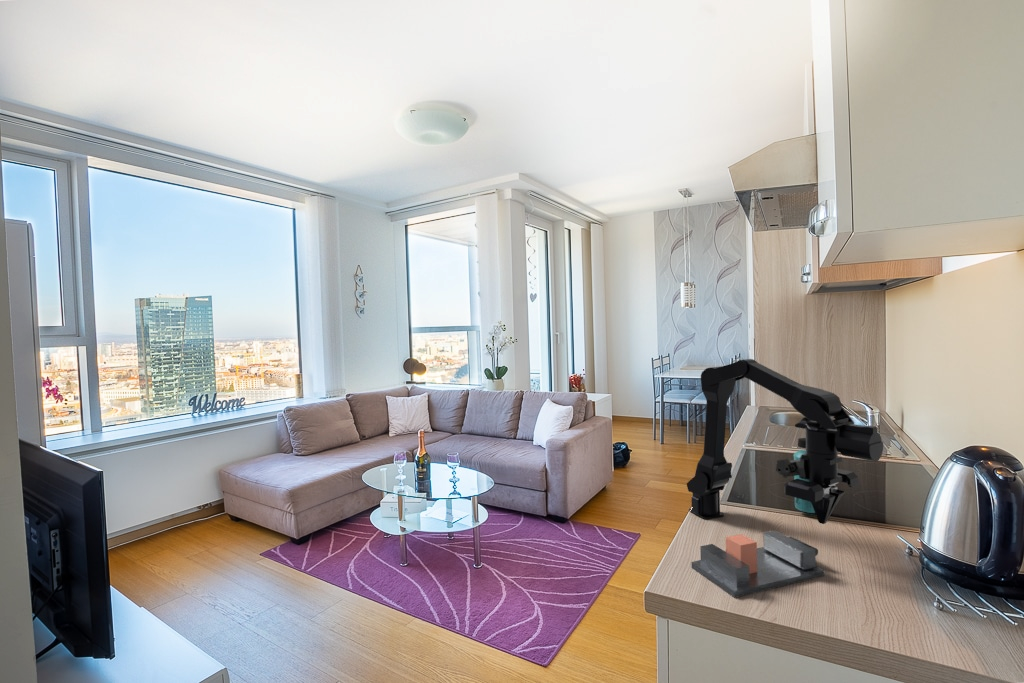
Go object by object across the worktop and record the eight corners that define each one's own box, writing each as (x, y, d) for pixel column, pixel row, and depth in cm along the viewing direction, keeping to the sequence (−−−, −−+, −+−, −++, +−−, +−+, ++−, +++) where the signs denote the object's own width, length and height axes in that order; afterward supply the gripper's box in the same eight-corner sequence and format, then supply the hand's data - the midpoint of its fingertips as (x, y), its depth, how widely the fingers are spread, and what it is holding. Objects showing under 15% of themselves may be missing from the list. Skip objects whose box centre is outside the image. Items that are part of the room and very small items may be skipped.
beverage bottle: (829, 517, 123) (828, 440, 123) (807, 520, 122) (806, 442, 122) (808, 508, 130) (807, 435, 129) (787, 511, 128) (786, 437, 128)
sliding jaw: (785, 543, 106) (785, 528, 106) (827, 564, 97) (827, 547, 97) (762, 548, 104) (761, 532, 104) (802, 570, 95) (802, 552, 95)
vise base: (774, 550, 107) (773, 529, 106) (824, 576, 95) (823, 552, 95) (691, 567, 100) (691, 545, 100) (734, 597, 88) (734, 572, 88)
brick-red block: (741, 562, 99) (741, 534, 99) (757, 572, 95) (756, 542, 95) (726, 566, 98) (725, 537, 98) (741, 575, 94) (740, 545, 94)
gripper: (806, 438, 114) (806, 502, 115) (759, 450, 105) (760, 520, 105) (859, 447, 105) (859, 518, 105) (813, 461, 95) (814, 539, 96)
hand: (822, 523), depth 103 cm, fingers closed
